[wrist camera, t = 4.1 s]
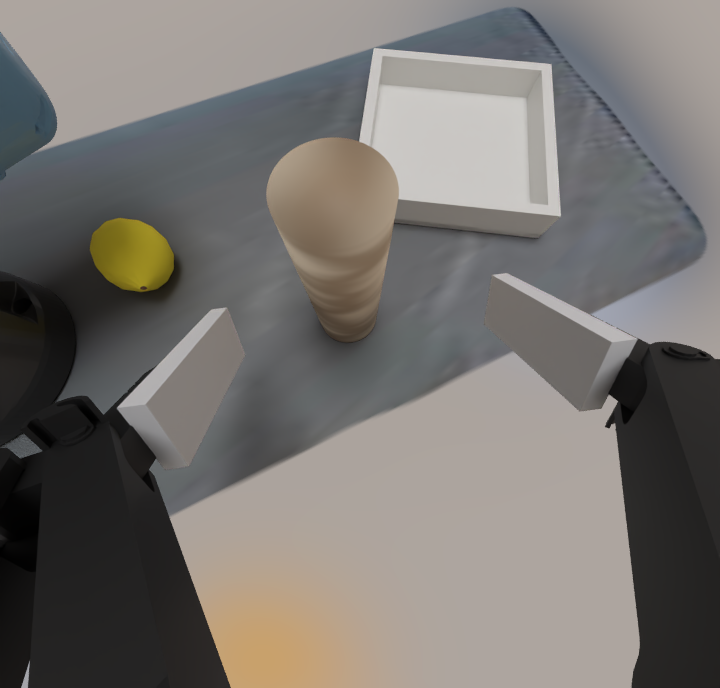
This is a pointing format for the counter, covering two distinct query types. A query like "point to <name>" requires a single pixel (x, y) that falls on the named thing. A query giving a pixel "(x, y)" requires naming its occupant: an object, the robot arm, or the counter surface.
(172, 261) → the lemon
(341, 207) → the dowel
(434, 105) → the tray
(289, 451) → the counter surface
